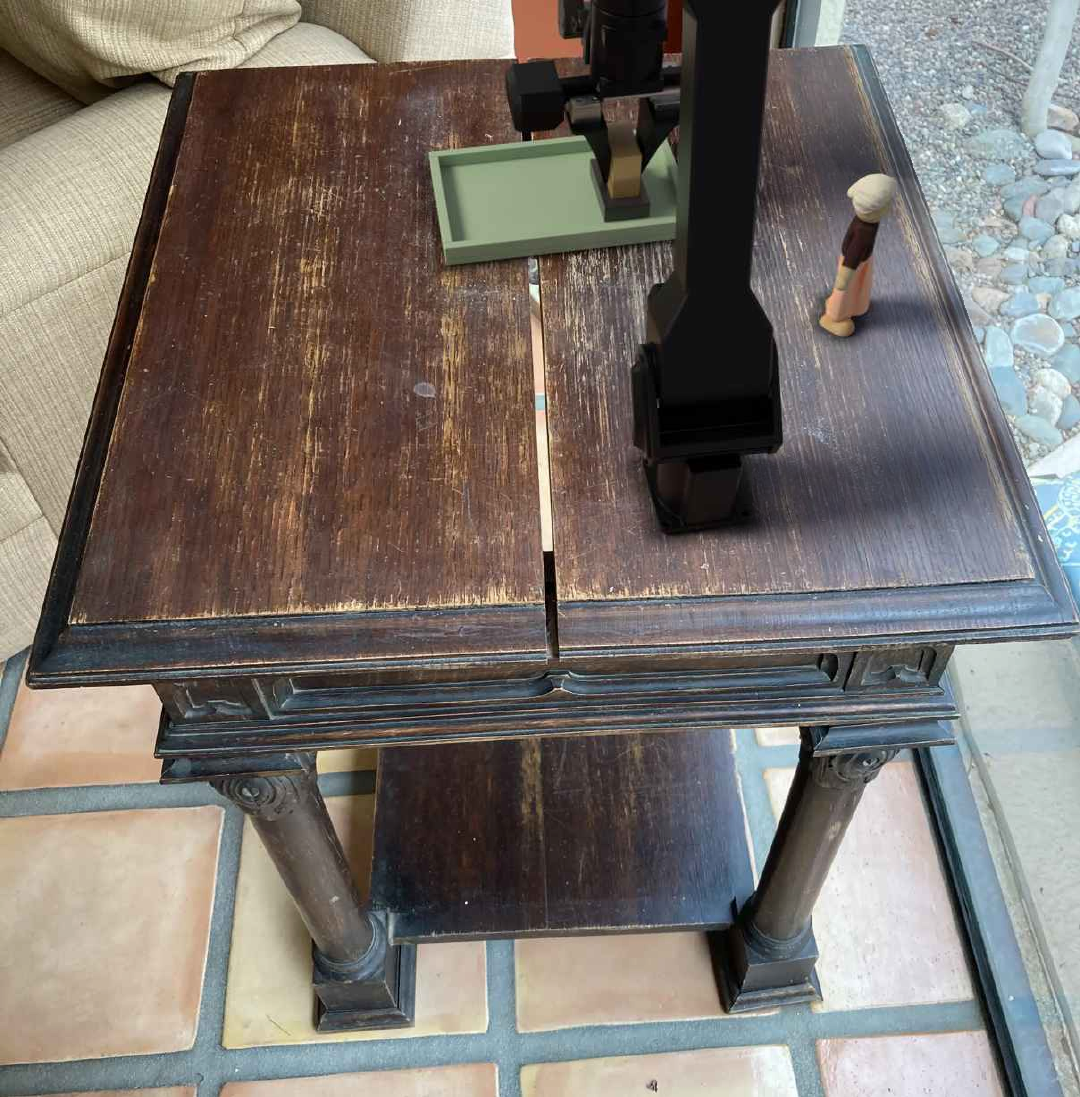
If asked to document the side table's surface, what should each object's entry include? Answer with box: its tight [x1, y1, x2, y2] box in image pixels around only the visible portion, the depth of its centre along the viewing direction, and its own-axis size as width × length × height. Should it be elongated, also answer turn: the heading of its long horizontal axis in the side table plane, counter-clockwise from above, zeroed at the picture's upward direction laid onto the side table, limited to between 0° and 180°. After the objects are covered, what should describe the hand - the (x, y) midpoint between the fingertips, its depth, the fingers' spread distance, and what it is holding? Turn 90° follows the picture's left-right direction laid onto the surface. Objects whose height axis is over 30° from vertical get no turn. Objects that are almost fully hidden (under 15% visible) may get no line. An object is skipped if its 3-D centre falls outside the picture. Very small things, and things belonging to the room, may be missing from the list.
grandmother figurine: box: [819, 173, 899, 338], centre depth 79 cm, size 8×4×13 cm, turn 168°
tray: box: [428, 129, 678, 266], centre depth 92 cm, size 14×22×2 cm, turn 99°
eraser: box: [590, 120, 650, 222], centre depth 90 cm, size 7×4×6 cm, turn 9°
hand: (620, 178), depth 91 cm, fingers closed on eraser, 2 cm apart
